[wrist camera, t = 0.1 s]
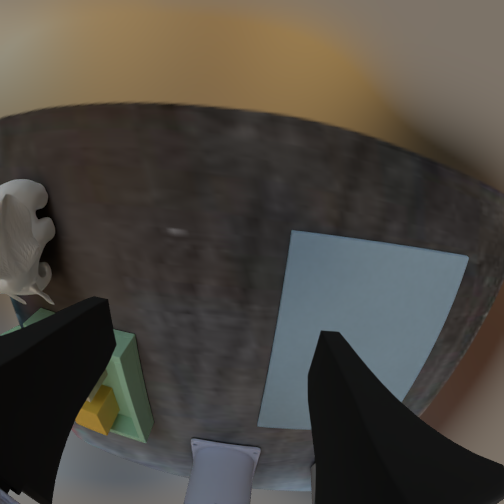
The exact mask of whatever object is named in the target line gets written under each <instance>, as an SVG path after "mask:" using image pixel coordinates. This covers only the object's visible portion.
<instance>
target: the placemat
mask: <svg viewBox="0 0 504 504" xmlns="http://www.w3.org/2000/svg"><path fill="white" fill-rule="evenodd" d="M468 259H469V257H467V256H466V255H460V254H454V253H449V252H442V251H436V250H430V249H424V248H417V247H411V246H404V245H398V244H391V243H384V242H377V241H370V240H363V239H356V238H349V237H341V236H334V235H326V234H319V233H311V232H303V231H295V230H292V231H291V236H290V243H289V250H288V257H287V263H286V270H285V276H284V282H283V288H282V294H281V300H280V306H279V312H278V318H277V324H276V330H275V335H274V341H273V346H272V352H271V357H270V362H269V368H268V373H267V378H266V383H265V388H264V393H263V398H262V403H261V408H260V413H259V418H258V422H257V426H258V427H269V428H283V429H307V430H311V422H310V414H309V407H308V372H309V369H310V366H311V362H312V359H313V356H314V352H315V349H316V346H317V342H318V339H319V335H320V332H321V330H322V331H337V332H340V333H341V335H342V336H343V337H344V338H345V339H346V341H347V342H348V343H349V344H350V346H351V347H352V348H353V349H354V351H355V352H356V353H357V354H358V356H359V357H360V358H361V359H362V361H363V362H364V363H365V364H366V365H367V367H368V368H369V369H370V370H371V371H372V372H373V374H374V375H375V376H376V377H377V378H378V379H379V380H380V381H381V382H382V384H383V385H384V386H385V387H386V388H387V389H388V390H389V391H390V392H391V393H392V394H393V395H394V396H395V397H396V398H397V399H398V400H399V401H400V402H402V401H403V399H404V397H405V396H406V394H407V393H408V391H409V389H410V388H411V386H412V384H413V383H414V381H415V379H416V378H417V376H418V374H419V372H420V370H421V369H422V367H423V365H424V363H425V361H426V359H427V358H428V356H429V354H430V352H431V350H432V348H433V346H434V344H435V342H436V340H437V338H438V336H439V333H440V331H441V329H442V327H443V325H444V322H445V320H446V318H447V316H448V313H449V311H450V309H451V306H452V304H453V301H454V299H455V296H456V294H457V291H458V288H459V286H460V283H461V280H462V277H463V274H464V271H465V268H466V265H467V262H468Z"/></svg>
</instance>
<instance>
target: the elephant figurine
mask: <svg viewBox="0 0 504 504" xmlns="http://www.w3.org/2000/svg"><path fill="white" fill-rule="evenodd" d="M47 201H48V194H47V192H46V190H45V187H44V186H43V185H42V184H40V183H37V182H34V181H31V180H28V179H17V180H12V181H9V182H7V183H4V184H2V185H0V294H7V295H8V296H10V297H12V298H14V299H16V300H17V301H19V302H21V303H22V304H26V302H25V301H24V300H22V299H21V298H19V297H18V296H17V295H32V294H38V295H40V296H42V297H43V298H44V299H45V300H46V301H47V302H48V303H50V304H53V305H55V304H54V303H53V301H52V300H51V298H50V297H49V296H48V295H47V294H45V293H43V292H42V290H44V288H45V287H46V286H47V285H48V283H49V282H50V279H51V276H52V272H51V268H50V266H49V264H48V263H46V262H40V263H39V260H40V256H41V254H42V252H43V249H44V247H45V245H46V243H47V242H49V241H50V240H51V239H52V238H53V237H54V235H55V227H54V224H53V221H52V219H51V218H49V217H44V218H41V219H38V218H37V217H36V210H38V209H42V208H43V207H45V205H46V204H47ZM26 305H27V304H26Z"/></svg>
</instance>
